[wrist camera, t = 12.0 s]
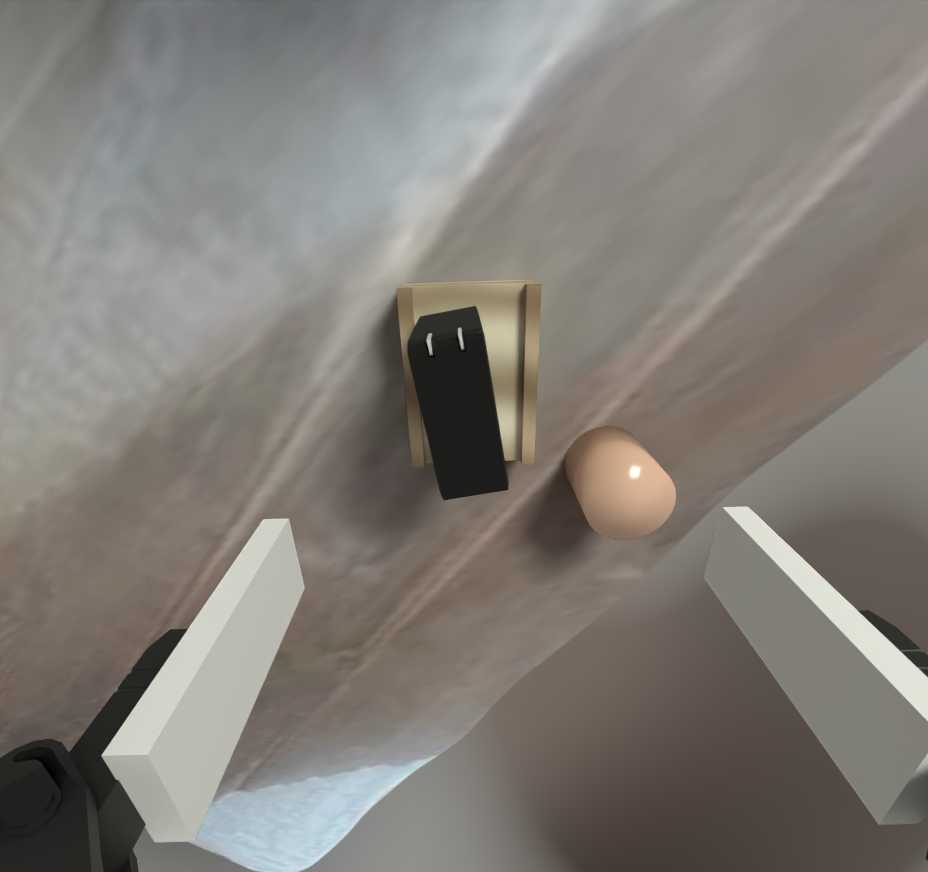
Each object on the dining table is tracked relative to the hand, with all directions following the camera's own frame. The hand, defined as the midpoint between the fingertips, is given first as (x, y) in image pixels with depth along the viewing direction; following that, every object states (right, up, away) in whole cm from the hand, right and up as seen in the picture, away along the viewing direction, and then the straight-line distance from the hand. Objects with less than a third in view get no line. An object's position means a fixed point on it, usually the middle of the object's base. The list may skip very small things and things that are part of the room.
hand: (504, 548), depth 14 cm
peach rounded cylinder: (+12, +1, +27) cm, 29 cm away
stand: (-1, +9, +23) cm, 25 cm away
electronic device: (-1, +8, +20) cm, 22 cm away
